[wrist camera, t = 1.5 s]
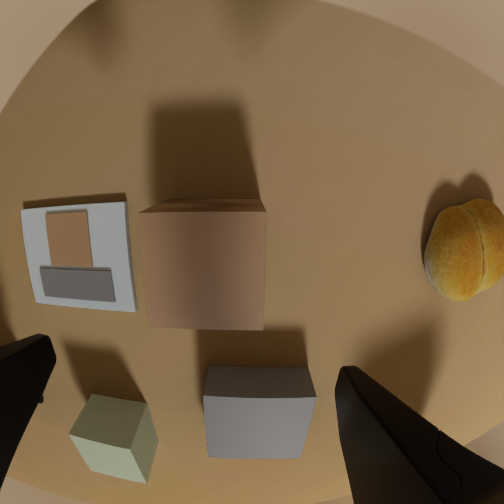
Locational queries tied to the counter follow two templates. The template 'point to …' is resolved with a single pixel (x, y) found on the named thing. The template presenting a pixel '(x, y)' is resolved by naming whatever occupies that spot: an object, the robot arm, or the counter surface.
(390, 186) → the counter surface
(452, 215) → the bread roll
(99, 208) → the card
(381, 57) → the counter surface
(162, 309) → the walnut cube
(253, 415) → the charcoal block
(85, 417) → the sage cube
